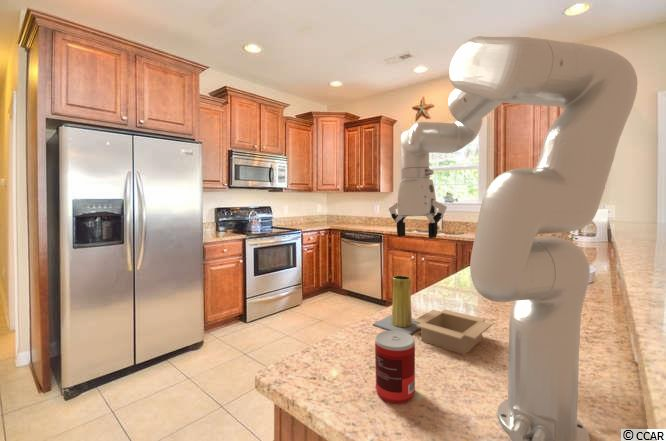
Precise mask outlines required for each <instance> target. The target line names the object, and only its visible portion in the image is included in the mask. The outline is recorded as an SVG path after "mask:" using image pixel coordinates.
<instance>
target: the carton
mask: <svg viewBox="0 0 666 441" xmlns="http://www.w3.org/2000/svg"><path fill="white" fill-rule="evenodd" d="M414 319H415V320H413V322H415V323H419V324H418V325H416V327H418V328H421V329H420V331H421V335H420V336H421V337H420V338H421V339H420V340H421V342H424V343H427V344H429V345H433V346H436V347H439V348H442V349H445V350H448V351H451V352H455V353H456V354H460V355H464V356H465V355H466V354H467V353H469V351H471V350H472V349H473V348H474V347H476V346H477V344H479V343H480V342H481V341H482V340H483V334H484V333H485V332H486V331H487V330H489V329H490V328H491V327H492V326H493V323H489V322H486V318H483V317H479V316H474V315H471V314H467V313H462V312H457V311H453V310H449V309H444V310H441V311H440V310H437V309H432V310H429V311H428V312H425V314H422V315H420V316H419V317H417V318H414Z"/></svg>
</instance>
